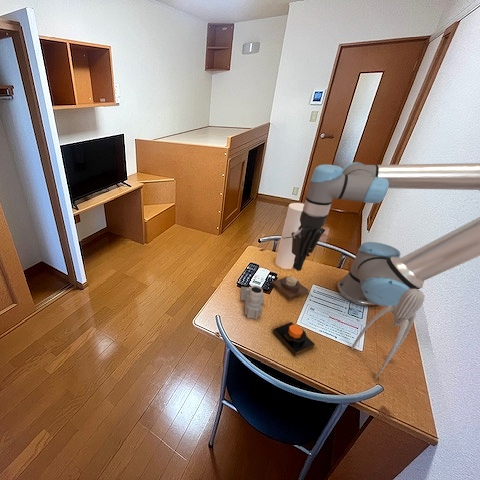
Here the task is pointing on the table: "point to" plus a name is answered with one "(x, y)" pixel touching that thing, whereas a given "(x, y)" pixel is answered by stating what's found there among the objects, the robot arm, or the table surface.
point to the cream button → (291, 281)
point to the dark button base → (293, 340)
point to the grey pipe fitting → (252, 300)
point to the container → (289, 236)
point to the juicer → (399, 319)
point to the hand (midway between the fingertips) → (296, 268)
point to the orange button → (295, 331)
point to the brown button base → (289, 289)
